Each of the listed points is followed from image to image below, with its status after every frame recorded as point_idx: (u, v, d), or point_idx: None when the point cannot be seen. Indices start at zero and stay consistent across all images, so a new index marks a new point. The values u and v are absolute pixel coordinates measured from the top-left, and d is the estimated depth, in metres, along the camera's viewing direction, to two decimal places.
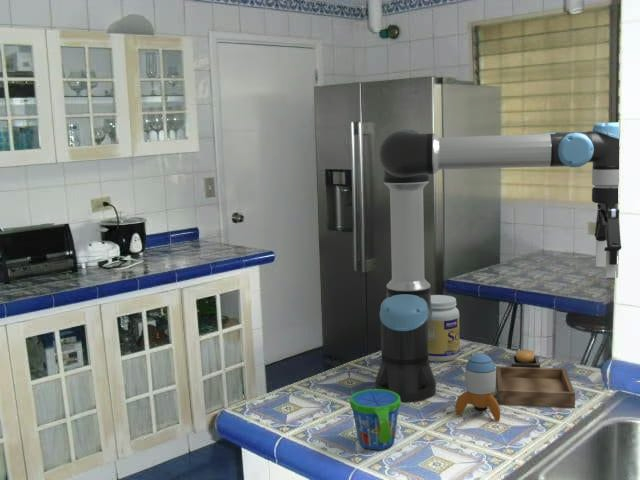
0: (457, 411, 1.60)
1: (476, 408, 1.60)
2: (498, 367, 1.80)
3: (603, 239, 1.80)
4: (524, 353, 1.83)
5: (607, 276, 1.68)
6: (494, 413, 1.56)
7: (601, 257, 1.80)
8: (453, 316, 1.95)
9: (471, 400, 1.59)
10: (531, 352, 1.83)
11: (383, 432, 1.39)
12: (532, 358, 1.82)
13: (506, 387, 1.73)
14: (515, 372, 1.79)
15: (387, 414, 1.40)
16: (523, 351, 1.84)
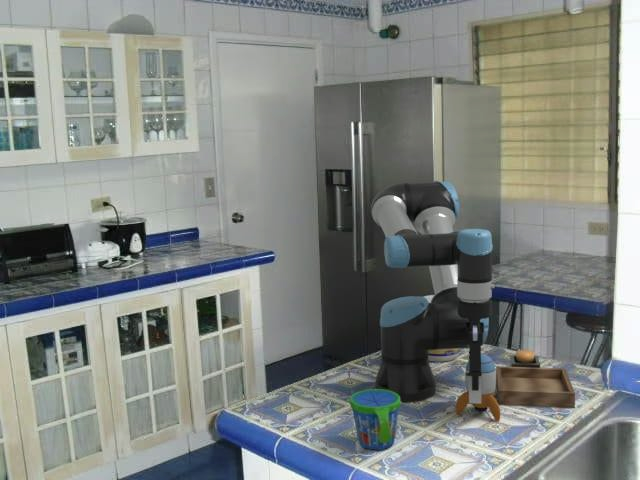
0: (457, 411, 1.60)
1: (476, 408, 1.60)
2: (498, 367, 1.80)
3: None
4: (524, 353, 1.83)
5: (470, 402, 1.56)
6: (494, 413, 1.56)
7: None
8: None
9: None
10: (531, 352, 1.83)
11: (383, 432, 1.39)
12: (532, 358, 1.82)
13: (506, 387, 1.73)
14: (515, 372, 1.79)
15: (387, 414, 1.40)
16: (523, 351, 1.84)
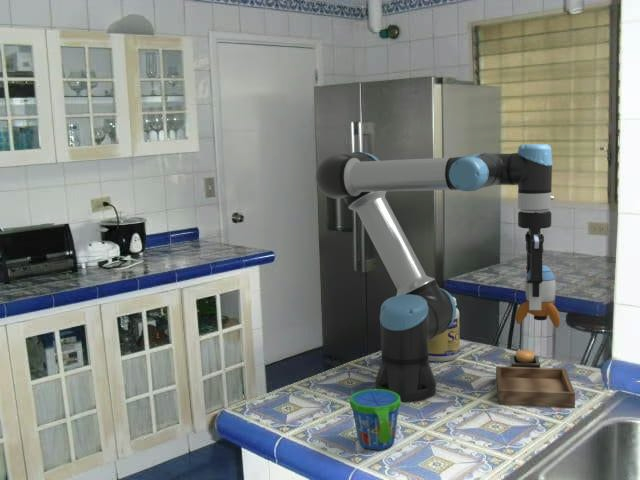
0: (517, 320, 1.68)
1: (536, 317, 1.67)
2: (498, 367, 1.80)
3: None
4: (524, 353, 1.83)
5: (530, 308, 1.64)
6: (554, 320, 1.63)
7: None
8: None
9: None
10: (531, 352, 1.83)
11: (383, 432, 1.39)
12: (532, 358, 1.82)
13: (506, 387, 1.73)
14: (515, 372, 1.79)
15: (387, 414, 1.40)
16: (523, 351, 1.84)
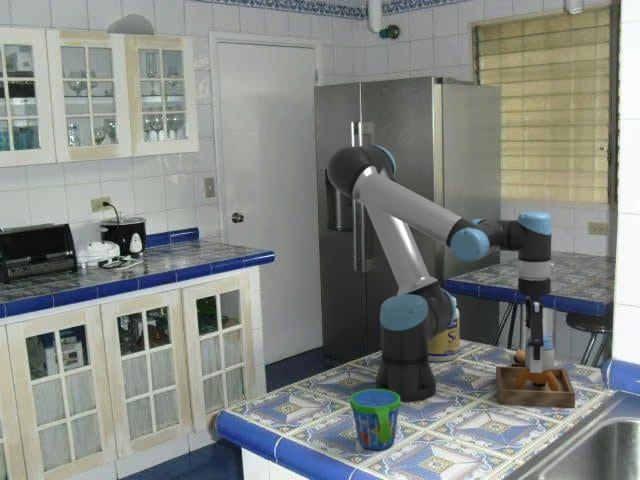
0: (517, 387, 1.71)
1: (535, 384, 1.70)
2: (498, 367, 1.80)
3: None
4: (524, 353, 1.83)
5: (531, 371, 1.64)
6: (553, 388, 1.66)
7: None
8: None
9: (531, 376, 1.69)
10: None
11: (383, 432, 1.39)
12: None
13: (506, 387, 1.73)
14: (515, 372, 1.79)
15: (387, 414, 1.40)
16: (523, 351, 1.84)
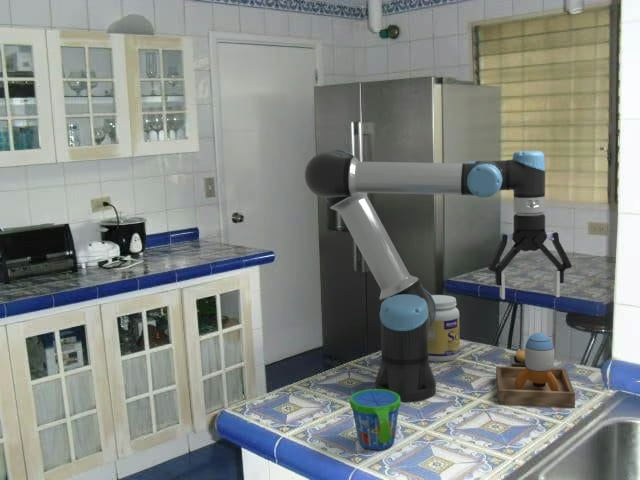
0: (517, 387, 1.71)
1: (535, 384, 1.70)
2: (498, 367, 1.80)
3: (558, 269, 1.76)
4: (524, 353, 1.83)
5: None
6: (553, 388, 1.66)
7: (555, 286, 1.77)
8: (453, 316, 1.95)
9: (531, 376, 1.69)
10: None
11: (383, 432, 1.39)
12: None
13: (506, 387, 1.73)
14: (515, 372, 1.79)
15: (387, 414, 1.40)
16: (523, 351, 1.84)
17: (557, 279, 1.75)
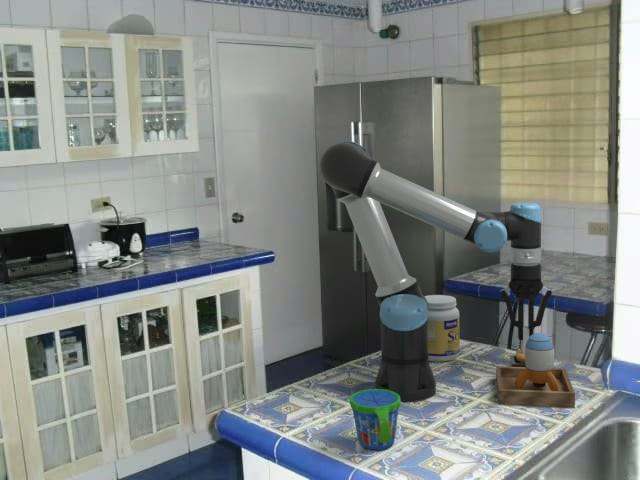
0: (517, 387, 1.71)
1: (535, 384, 1.70)
2: (498, 367, 1.80)
3: (528, 324, 1.82)
4: (524, 353, 1.83)
5: (522, 349, 1.85)
6: (553, 388, 1.66)
7: None
8: (453, 316, 1.95)
9: (531, 376, 1.69)
10: None
11: (383, 432, 1.39)
12: None
13: (506, 387, 1.73)
14: (515, 372, 1.79)
15: (387, 414, 1.40)
16: None
17: (527, 336, 1.81)
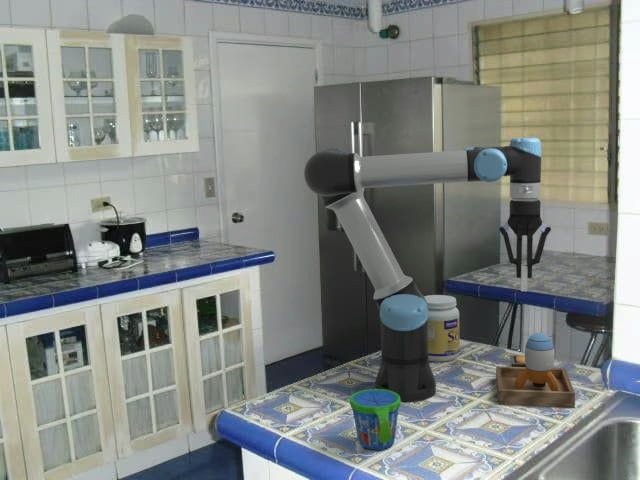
0: (517, 387, 1.71)
1: (535, 384, 1.70)
2: (498, 367, 1.80)
3: (527, 262, 1.79)
4: (524, 358, 1.83)
5: (520, 288, 1.82)
6: (553, 388, 1.66)
7: None
8: (453, 316, 1.95)
9: (531, 376, 1.69)
10: None
11: (383, 432, 1.39)
12: None
13: (506, 387, 1.73)
14: (515, 372, 1.79)
15: (387, 414, 1.40)
16: (523, 356, 1.84)
17: (525, 273, 1.79)
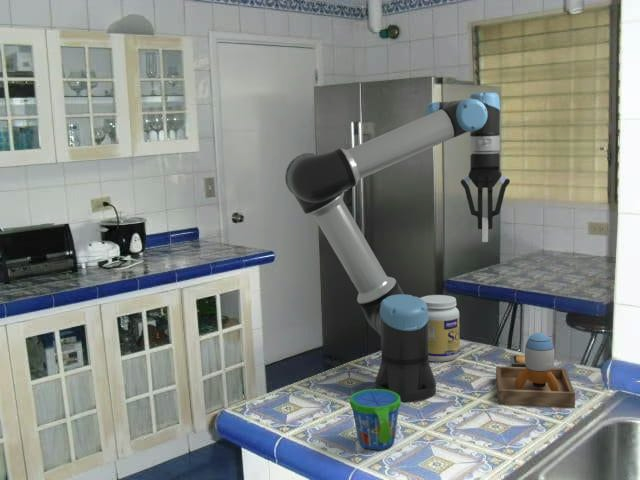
0: (517, 387, 1.71)
1: (535, 384, 1.70)
2: (498, 367, 1.80)
3: None
4: (524, 358, 1.83)
5: None
6: (553, 388, 1.66)
7: None
8: (453, 316, 1.95)
9: (531, 376, 1.69)
10: None
11: (383, 432, 1.39)
12: None
13: (506, 387, 1.73)
14: (515, 372, 1.79)
15: (387, 414, 1.40)
16: (523, 356, 1.84)
17: (486, 225, 1.86)
